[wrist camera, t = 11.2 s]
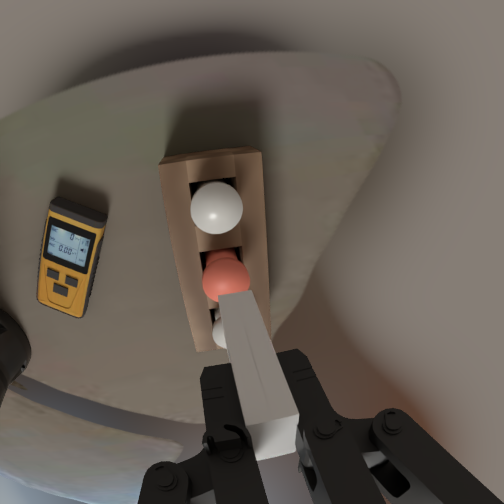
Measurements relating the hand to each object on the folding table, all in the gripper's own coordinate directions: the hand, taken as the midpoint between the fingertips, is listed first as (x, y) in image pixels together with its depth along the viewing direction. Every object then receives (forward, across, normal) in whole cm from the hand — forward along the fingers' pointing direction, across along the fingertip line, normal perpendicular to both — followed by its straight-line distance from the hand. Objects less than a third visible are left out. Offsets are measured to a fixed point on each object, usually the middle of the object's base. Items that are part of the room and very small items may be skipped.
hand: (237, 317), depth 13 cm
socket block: (+24, +1, -7) cm, 25 cm away
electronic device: (+25, -20, -6) cm, 32 cm away
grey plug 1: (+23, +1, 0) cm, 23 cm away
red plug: (+22, +1, -7) cm, 24 cm away
